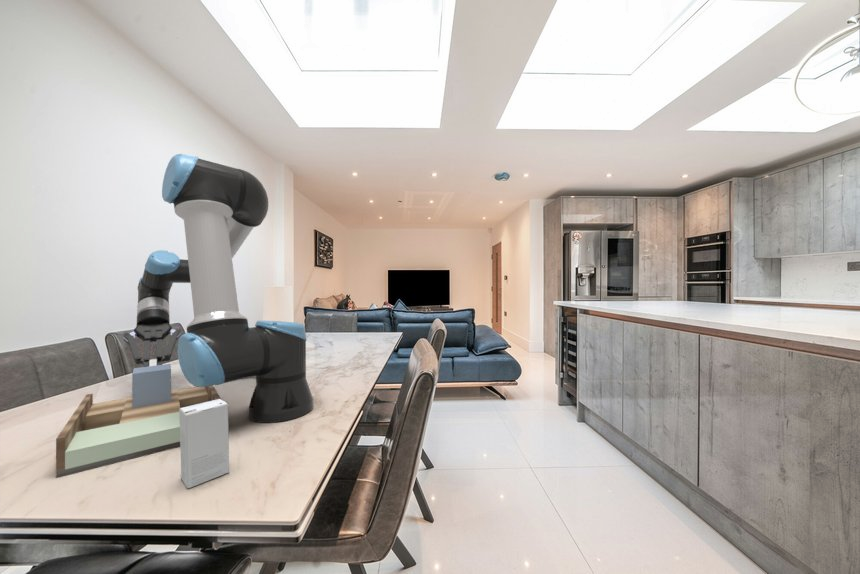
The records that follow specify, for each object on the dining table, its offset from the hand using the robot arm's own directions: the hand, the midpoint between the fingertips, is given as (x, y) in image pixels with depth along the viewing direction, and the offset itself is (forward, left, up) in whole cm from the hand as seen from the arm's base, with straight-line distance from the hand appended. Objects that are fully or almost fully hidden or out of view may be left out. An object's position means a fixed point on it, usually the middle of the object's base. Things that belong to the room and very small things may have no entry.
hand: (152, 382), depth 85 cm
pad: (-18, +18, -7) cm, 27 cm away
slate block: (-6, +6, -3) cm, 8 cm away
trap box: (-11, +11, -7) cm, 17 cm away
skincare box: (-38, +28, -7) cm, 48 cm away
